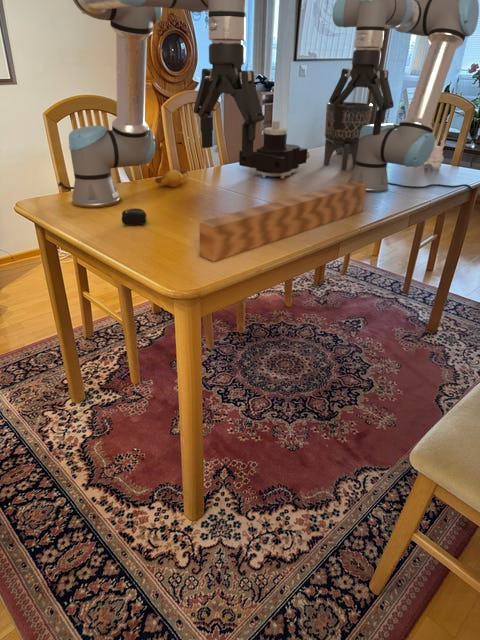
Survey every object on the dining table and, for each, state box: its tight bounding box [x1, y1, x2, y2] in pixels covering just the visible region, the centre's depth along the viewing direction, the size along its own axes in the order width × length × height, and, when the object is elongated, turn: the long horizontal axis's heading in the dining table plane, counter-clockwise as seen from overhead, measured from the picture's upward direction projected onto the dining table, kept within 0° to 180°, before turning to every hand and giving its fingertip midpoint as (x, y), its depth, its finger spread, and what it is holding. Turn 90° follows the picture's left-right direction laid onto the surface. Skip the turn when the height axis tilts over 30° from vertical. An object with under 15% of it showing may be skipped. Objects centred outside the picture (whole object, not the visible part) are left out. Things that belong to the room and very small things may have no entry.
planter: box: [323, 101, 374, 172], centre depth 204 cm, size 20×20×26 cm
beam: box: [198, 182, 366, 262], centre depth 130 cm, size 65×5×9 cm, turn 134°
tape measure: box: [121, 207, 147, 226], centre depth 133 cm, size 7×7×4 cm
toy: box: [154, 169, 189, 188], centre depth 173 cm, size 11×6×15 cm
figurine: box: [422, 139, 446, 171], centre depth 207 cm, size 8×15×13 cm, turn 146°
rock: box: [334, 147, 352, 155], centre depth 239 cm, size 13×9×6 cm, turn 131°
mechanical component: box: [238, 120, 311, 179], centre depth 191 cm, size 22×21×30 cm
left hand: (226, 151), depth 104 cm, fingers open, 13 cm apart
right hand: (356, 132), depth 135 cm, fingers open, 13 cm apart
